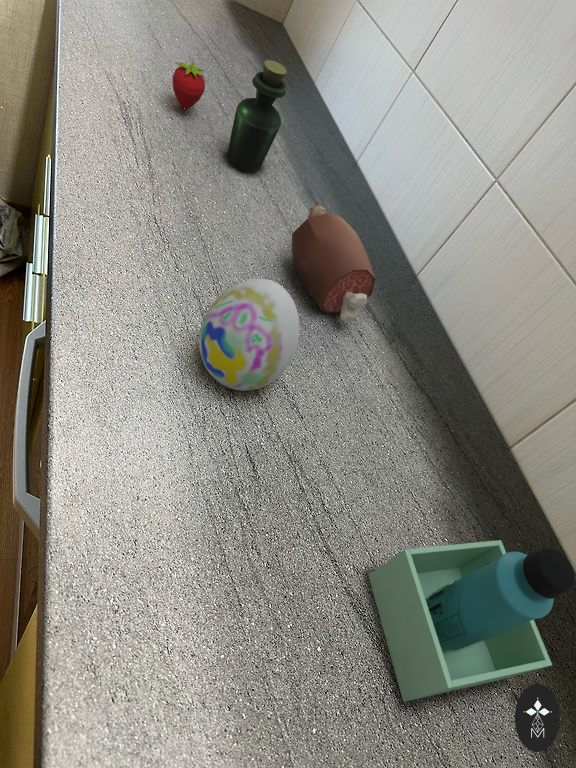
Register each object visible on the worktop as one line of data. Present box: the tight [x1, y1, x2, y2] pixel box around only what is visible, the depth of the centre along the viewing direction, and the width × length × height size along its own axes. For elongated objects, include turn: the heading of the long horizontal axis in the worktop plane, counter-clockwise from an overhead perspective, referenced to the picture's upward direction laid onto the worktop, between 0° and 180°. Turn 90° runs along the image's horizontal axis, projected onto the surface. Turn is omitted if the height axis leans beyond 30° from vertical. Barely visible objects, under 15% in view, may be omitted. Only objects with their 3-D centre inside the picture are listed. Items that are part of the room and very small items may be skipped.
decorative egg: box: [198, 278, 300, 392], centre depth 72 cm, size 12×12×15 cm
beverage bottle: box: [426, 547, 576, 652], centre depth 58 cm, size 6×7×20 cm
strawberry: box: [171, 56, 206, 112], centre depth 105 cm, size 6×8×10 cm
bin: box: [367, 539, 553, 703], centre depth 62 cm, size 13×13×8 cm
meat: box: [291, 204, 376, 324], centre depth 89 cm, size 20×12×10 cm, turn 21°
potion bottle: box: [226, 59, 288, 174], centre depth 99 cm, size 8×8×18 cm
